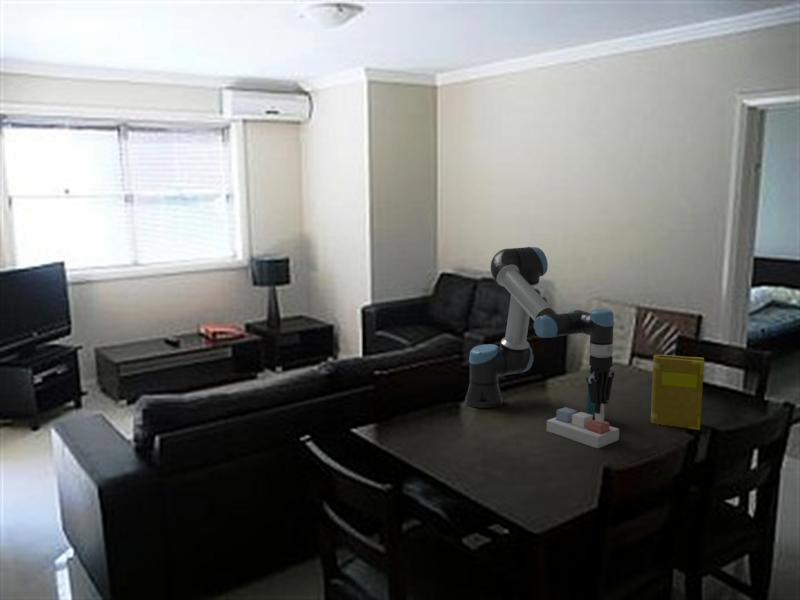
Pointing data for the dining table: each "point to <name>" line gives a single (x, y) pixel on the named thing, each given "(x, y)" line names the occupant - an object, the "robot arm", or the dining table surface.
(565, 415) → the blue key
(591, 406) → the beverage bottle
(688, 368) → the book
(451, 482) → the dining table surface
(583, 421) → the white key
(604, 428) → the red key
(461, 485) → the dining table surface
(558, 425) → the key panel
